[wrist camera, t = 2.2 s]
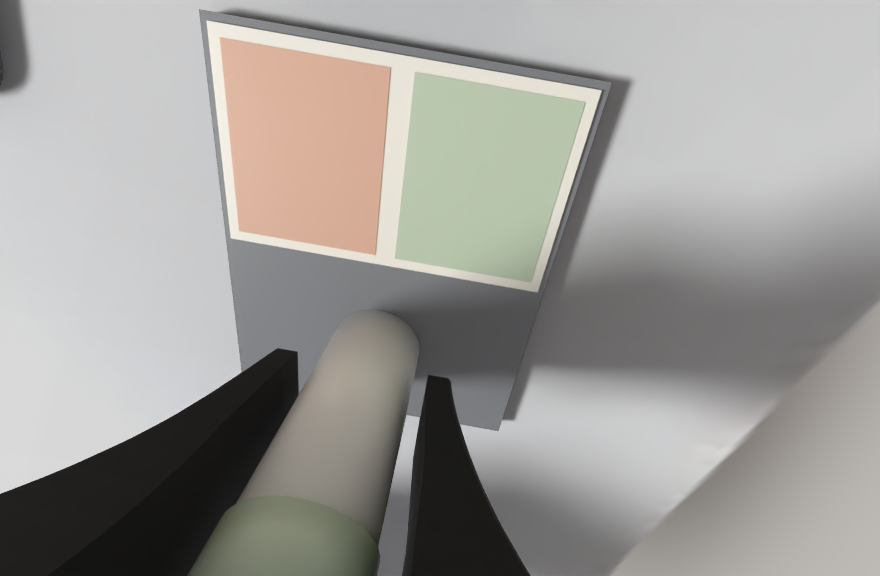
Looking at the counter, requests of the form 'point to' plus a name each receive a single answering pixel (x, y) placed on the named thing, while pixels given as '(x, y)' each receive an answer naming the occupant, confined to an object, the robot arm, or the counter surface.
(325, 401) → the marker
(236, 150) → the picture board
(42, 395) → the counter surface
